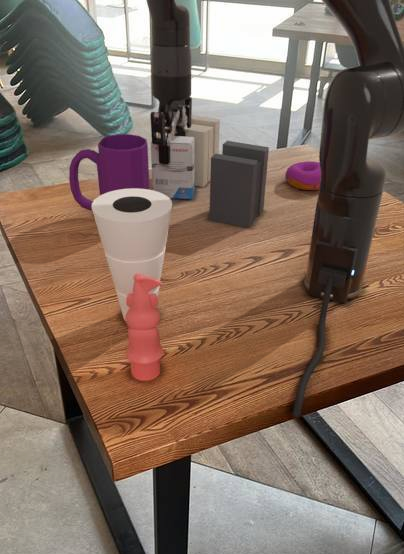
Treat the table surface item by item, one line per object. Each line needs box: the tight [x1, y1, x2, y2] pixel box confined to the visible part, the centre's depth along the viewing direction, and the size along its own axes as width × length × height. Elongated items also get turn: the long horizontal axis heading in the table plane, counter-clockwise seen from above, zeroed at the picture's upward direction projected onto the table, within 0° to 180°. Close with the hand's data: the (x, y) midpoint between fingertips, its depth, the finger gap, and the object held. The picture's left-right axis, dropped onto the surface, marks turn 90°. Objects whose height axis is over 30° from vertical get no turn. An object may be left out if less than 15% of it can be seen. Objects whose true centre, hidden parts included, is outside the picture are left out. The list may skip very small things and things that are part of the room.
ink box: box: [150, 136, 195, 200], centre depth 119 cm, size 8×5×12 cm, turn 84°
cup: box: [91, 188, 173, 322], centre depth 82 cm, size 11×11×18 cm
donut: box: [284, 160, 321, 191], centre depth 126 cm, size 10×10×5 cm
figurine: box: [124, 274, 164, 382], centre depth 73 cm, size 5×5×15 cm
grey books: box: [208, 140, 270, 229], centre depth 111 cm, size 8×9×13 cm
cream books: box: [166, 115, 221, 188], centre depth 127 cm, size 8×9×12 cm
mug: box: [68, 133, 151, 212], centre depth 109 cm, size 9×16×15 cm, turn 83°
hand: (172, 157), depth 118 cm, fingers open, 7 cm apart
